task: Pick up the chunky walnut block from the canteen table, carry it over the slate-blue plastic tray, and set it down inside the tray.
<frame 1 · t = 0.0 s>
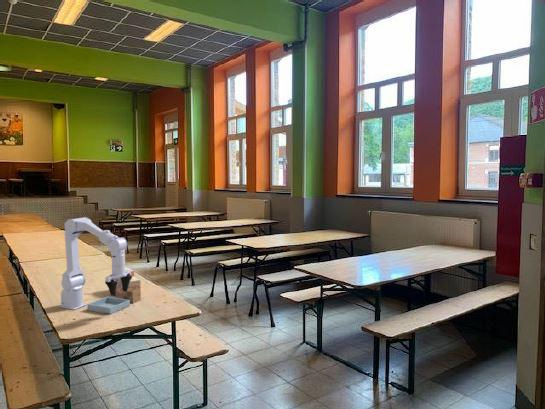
hand: (119, 293, 193), 10 cm above the table, fingers open, 7 cm apart
stack of blocks: (127, 293, 227), on the table
walnut block: (132, 301, 213), on the table
tray: (109, 308, 203), on the table
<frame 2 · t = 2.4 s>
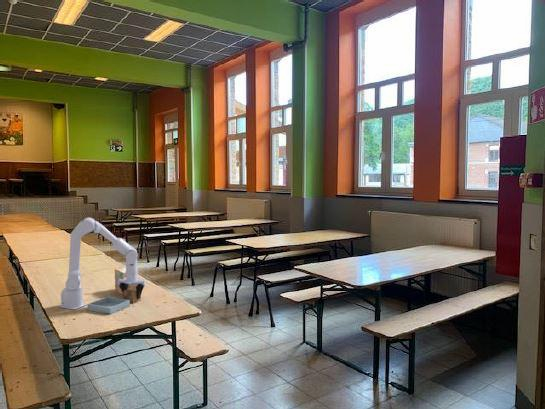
hand: (132, 298, 213), 2 cm above the table, fingers closed on walnut block, 6 cm apart
walnut block: (132, 301, 213), on the table, touching gripper
everything else where it was.
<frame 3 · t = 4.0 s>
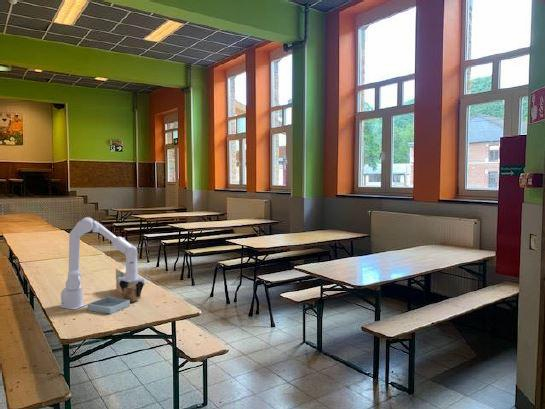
hand: (132, 296, 213), 3 cm above the table, fingers closed on walnut block, 6 cm apart
walnut block: (132, 299, 213), point 1 cm above the table, touching gripper
everything else where it was.
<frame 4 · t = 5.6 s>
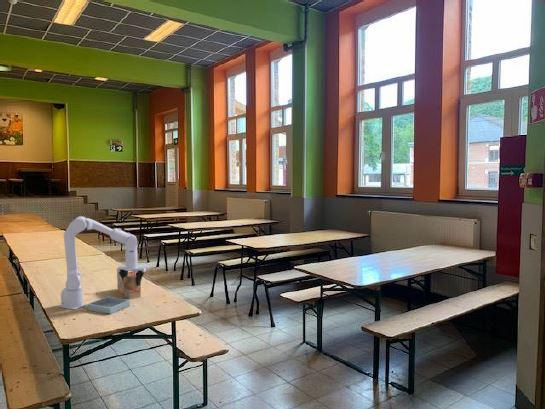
hand: (132, 285, 213), 8 cm above the table, fingers closed on walnut block, 6 cm apart
walnut block: (132, 288, 213), point 7 cm above the table, touching gripper
everything else where it was.
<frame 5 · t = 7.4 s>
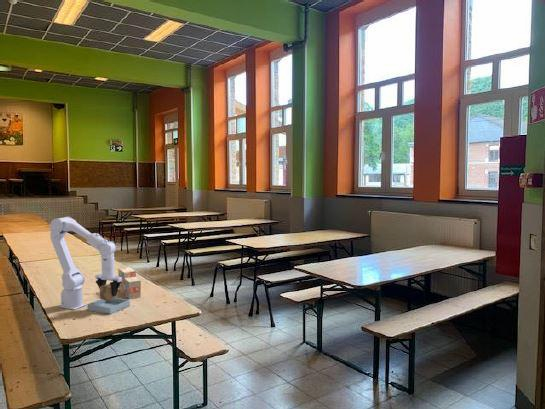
hand: (108, 294, 202), 7 cm above the table, fingers closed on walnut block, 6 cm apart
walnut block: (109, 298, 202), point 5 cm above the table, touching gripper
when the fingers open (4 cm above the table, at t = 9.0 s): walnut block drops 2 cm, resting on tray.
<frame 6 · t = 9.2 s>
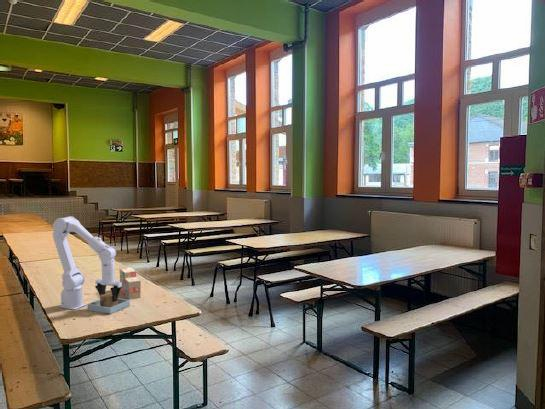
hand: (108, 300, 202), 4 cm above the table, fingers open, 7 cm apart
walnut block: (109, 307, 203), resting on tray
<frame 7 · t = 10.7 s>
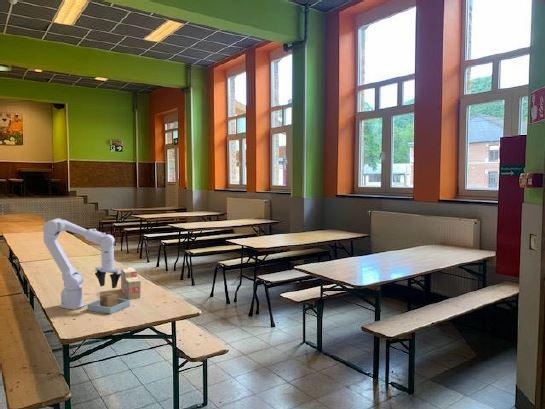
hand: (108, 286, 206), 9 cm above the table, fingers open, 7 cm apart
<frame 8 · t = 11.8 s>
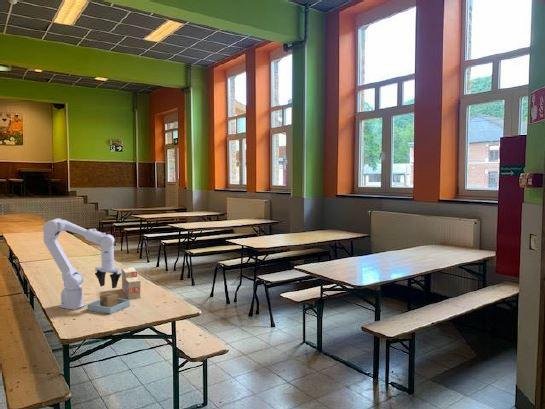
hand: (108, 286, 206), 9 cm above the table, fingers open, 7 cm apart
at the end: walnut block inside the target area on the tray (0.1 cm from its centre), point 0.5 cm above the tray's base; walnut block tilted 0°; the gripper is holding nothing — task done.
